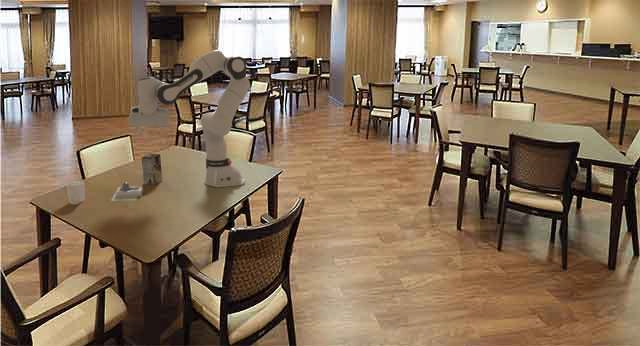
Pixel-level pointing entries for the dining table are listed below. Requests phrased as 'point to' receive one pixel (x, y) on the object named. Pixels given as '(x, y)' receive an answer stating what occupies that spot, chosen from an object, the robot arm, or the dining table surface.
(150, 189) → the dining table surface
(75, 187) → the white cup
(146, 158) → the coffee box
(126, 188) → the post
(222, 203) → the dining table surface
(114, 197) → the keeper plate
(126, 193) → the rectangular frame
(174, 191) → the dining table surface
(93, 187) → the dining table surface
